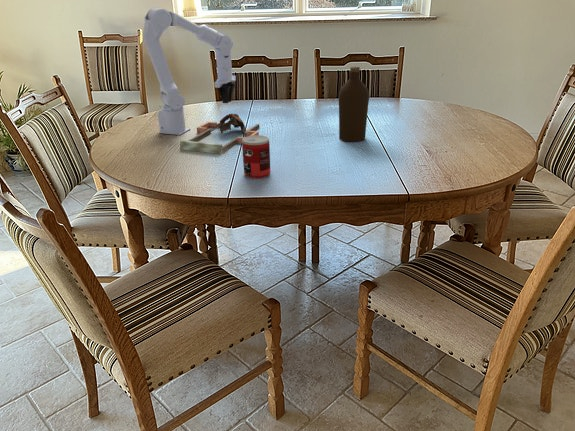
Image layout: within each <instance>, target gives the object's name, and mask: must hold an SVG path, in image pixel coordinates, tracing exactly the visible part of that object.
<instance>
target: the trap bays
mask: <svg viewBox="0 0 575 431" xmlns="http://www.w3.org/2000/svg"><path fill="white" fill-rule="evenodd" d="M217 124H218V122H216V121H207V122H205V123H202V124H200V125H199V126H197V127H196V133H197V134H201V133H202V132H204V131H206V130H208V129H211V132H213V131H214V130H216V129H218V128H217ZM246 132H247V136H253V135H260V131H259V130H256V131H247V130H246ZM247 136H237V137H236V138H237V144H242V139H243V138H244V137H247Z"/></svg>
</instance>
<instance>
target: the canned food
mask: <svg viewBox="0 0 575 431" xmlns="http://www.w3.org/2000/svg"><path fill="white" fill-rule="evenodd" d="M243 137H244V138H243V139H242V143H241V146H242V147H241V148H242V149H241V150H242V161H243V173H244V176H245V177H246V178H250V179H263V178H267V177H268V176H270V173H271V149H270V144H271V143H270V138H269V137H268V136H266V135H261V134H259V135H253V136H247V137H246V136H243Z"/></svg>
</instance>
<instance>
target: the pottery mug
mask: <svg viewBox="0 0 575 431" xmlns="http://www.w3.org/2000/svg"><path fill="white" fill-rule="evenodd" d="M226 121H227V122H226ZM224 122H225V124H223V123H224ZM218 123H219V124H218ZM218 123H217V124H218V125H219V127H220V128H219V132H220V133H221V134H223V132H225V131H228V130H229V131H232V126H233V128H234V129H237V128H238V129H239V128H240V131H242V132H243V133H244V132H245V131H247V129H246V126H245V123H244V121H243V120H242V118H240V116H239V114H237V113H229V114H226V115H225V116H224V117H222V118H221V119H220V120H219V122H218ZM220 123H221V124H220Z"/></svg>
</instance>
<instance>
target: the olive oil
mask: <svg viewBox="0 0 575 431" xmlns="http://www.w3.org/2000/svg"><path fill="white" fill-rule="evenodd" d="M349 68H350V71H349V79H347V81H346V82H344V85H342V86H341V87H340V90H339V92H338V128H339V129H338V135H339V136H338V138H339V140H340V141H343V142H347V143H357V142H362V141H364V140H365V139H366V132H367V124H368V123H367V122H368V114H369V113H368V111H369V103H370V102H369V101H370V92H369V89H368V87H367V86H366V85H365V83H364V82H363V81H362V79H361V78H360V75H361V71H360V68H361V67H360V66H350V67H349Z"/></svg>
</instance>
